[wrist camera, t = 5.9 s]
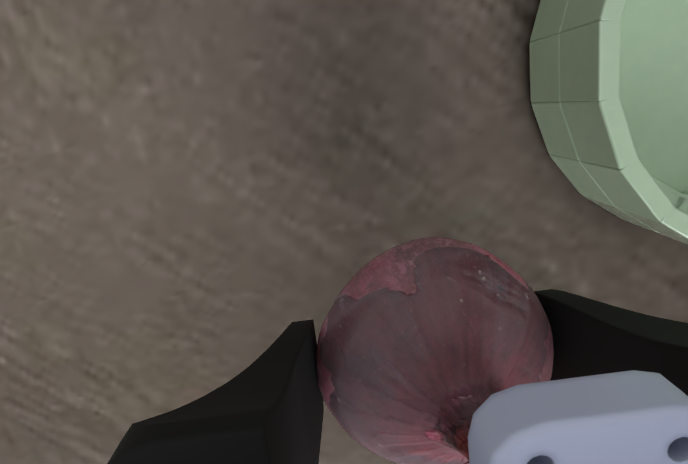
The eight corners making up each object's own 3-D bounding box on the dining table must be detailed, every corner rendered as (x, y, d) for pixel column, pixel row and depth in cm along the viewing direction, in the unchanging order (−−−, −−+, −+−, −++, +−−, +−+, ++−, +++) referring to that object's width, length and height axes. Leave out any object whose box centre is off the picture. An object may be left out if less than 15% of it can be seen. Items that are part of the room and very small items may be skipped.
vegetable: (528, 253, 16) (811, 460, 7) (444, 398, 18) (583, 744, 8) (368, 180, 16) (436, 296, 6) (293, 338, 17) (249, 642, 7)
